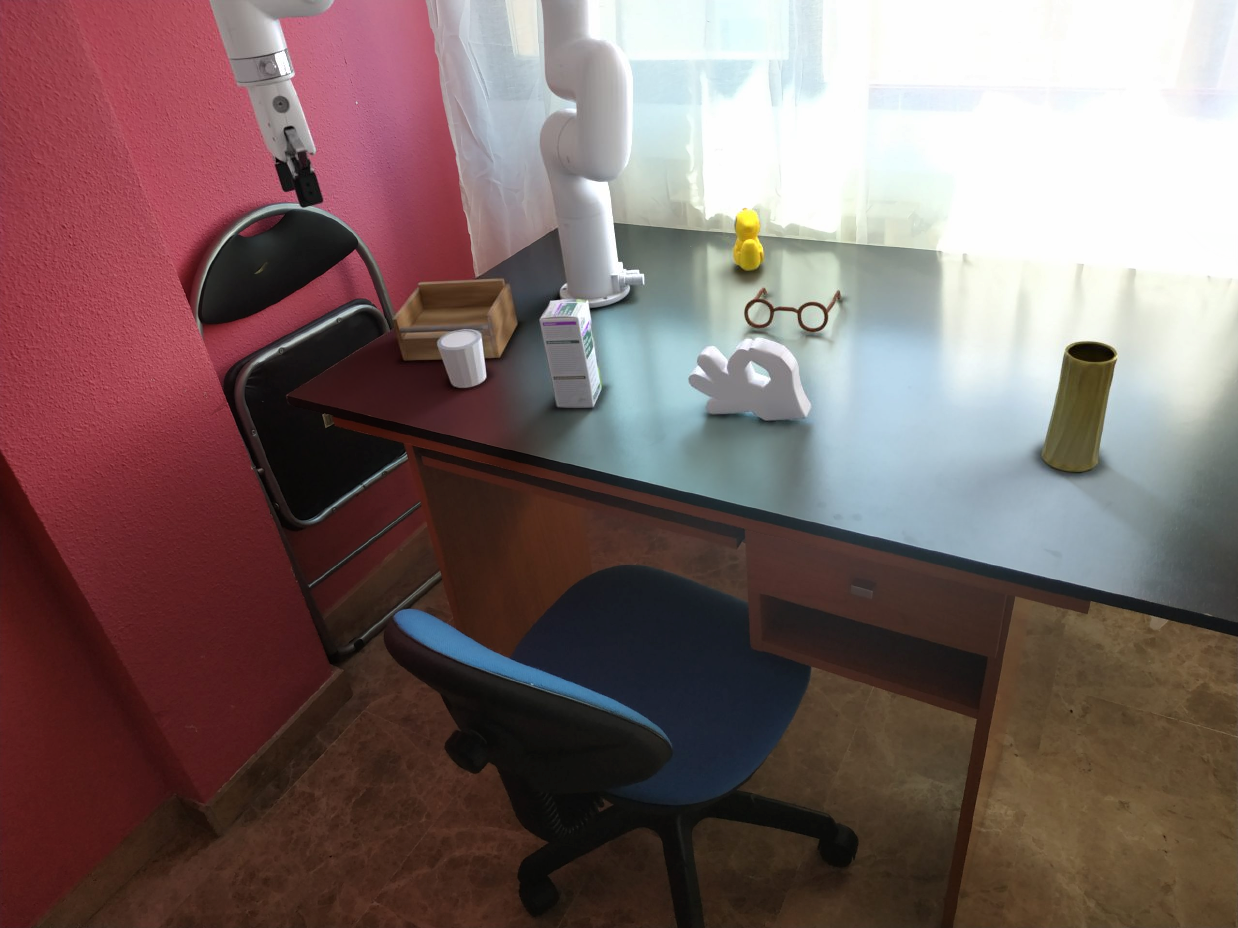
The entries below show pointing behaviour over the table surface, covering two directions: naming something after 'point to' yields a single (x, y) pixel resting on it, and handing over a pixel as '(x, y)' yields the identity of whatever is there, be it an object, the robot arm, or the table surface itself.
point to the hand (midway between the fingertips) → (303, 197)
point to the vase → (1080, 407)
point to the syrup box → (571, 353)
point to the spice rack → (455, 316)
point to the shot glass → (463, 357)
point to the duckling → (747, 240)
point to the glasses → (799, 311)
